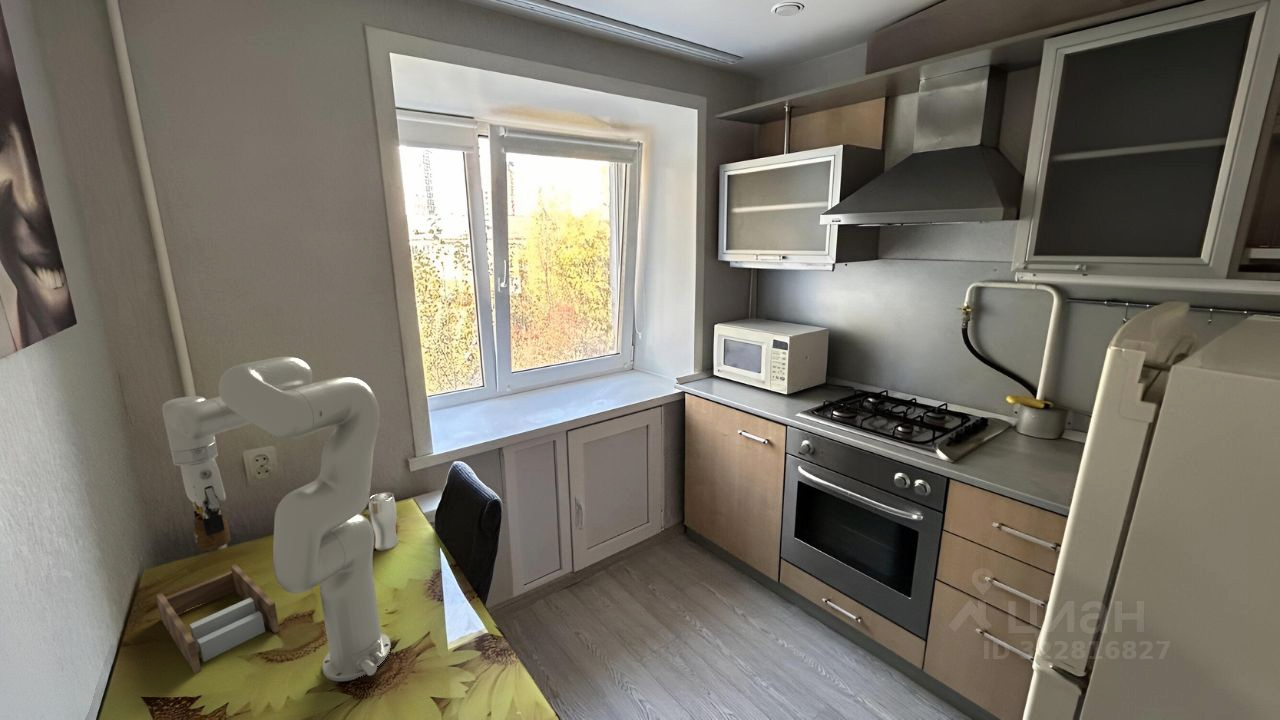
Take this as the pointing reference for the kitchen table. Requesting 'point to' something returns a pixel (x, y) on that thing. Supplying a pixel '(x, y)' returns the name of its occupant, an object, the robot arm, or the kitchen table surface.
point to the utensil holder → (211, 540)
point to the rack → (206, 593)
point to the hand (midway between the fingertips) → (210, 528)
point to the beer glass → (383, 520)
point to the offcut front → (230, 636)
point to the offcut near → (221, 619)
